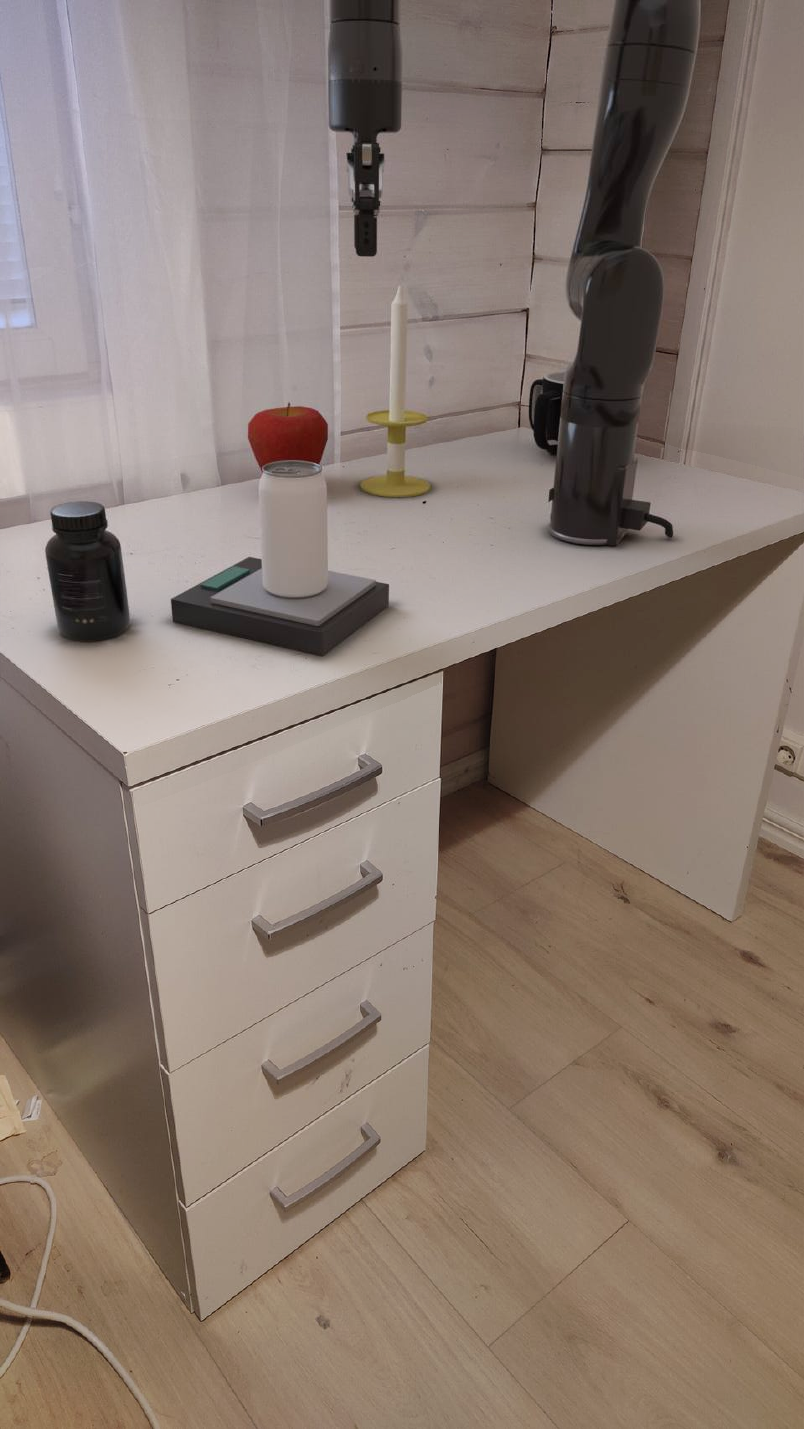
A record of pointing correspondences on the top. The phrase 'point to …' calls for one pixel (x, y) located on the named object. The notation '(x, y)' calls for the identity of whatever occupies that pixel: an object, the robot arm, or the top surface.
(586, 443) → the robot arm
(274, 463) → the can
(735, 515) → the top surface
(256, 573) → the scale
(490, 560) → the top surface
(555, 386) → the mug
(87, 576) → the supplement bottle
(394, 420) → the candle
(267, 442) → the apple
